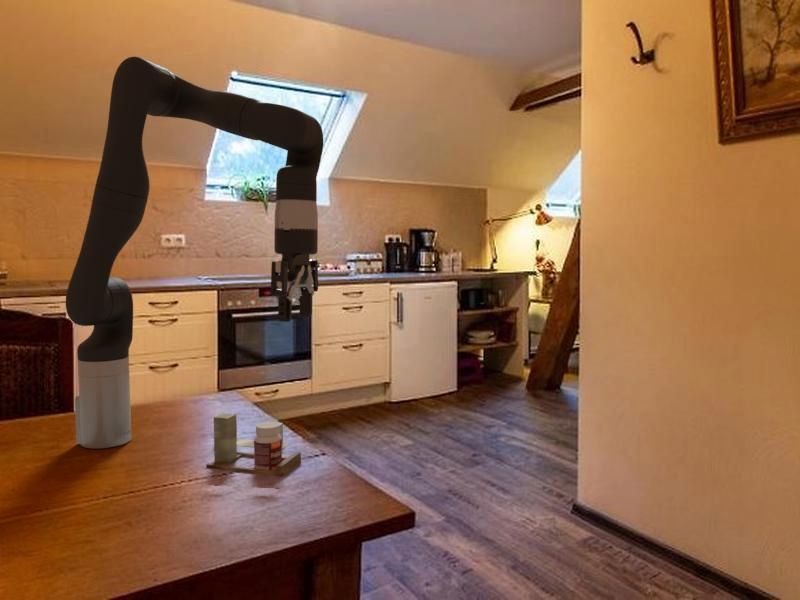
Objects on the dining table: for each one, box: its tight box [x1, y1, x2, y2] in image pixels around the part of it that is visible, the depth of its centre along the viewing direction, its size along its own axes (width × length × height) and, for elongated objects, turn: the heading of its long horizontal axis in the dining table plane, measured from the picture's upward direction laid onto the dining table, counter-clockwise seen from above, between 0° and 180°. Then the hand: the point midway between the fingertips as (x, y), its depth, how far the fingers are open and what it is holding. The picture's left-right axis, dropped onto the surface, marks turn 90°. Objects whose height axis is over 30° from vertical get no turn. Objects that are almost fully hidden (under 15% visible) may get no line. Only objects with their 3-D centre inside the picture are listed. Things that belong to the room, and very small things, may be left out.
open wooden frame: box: [205, 412, 302, 477], centre depth 107 cm, size 14×8×9 cm, turn 74°
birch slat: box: [236, 419, 290, 450], centre depth 118 cm, size 14×4×5 cm, turn 74°
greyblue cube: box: [255, 421, 284, 444], centre depth 117 cm, size 4×4×4 cm
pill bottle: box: [253, 421, 283, 471], centre depth 106 cm, size 5×5×8 cm
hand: (295, 318), depth 108 cm, fingers open, 8 cm apart
